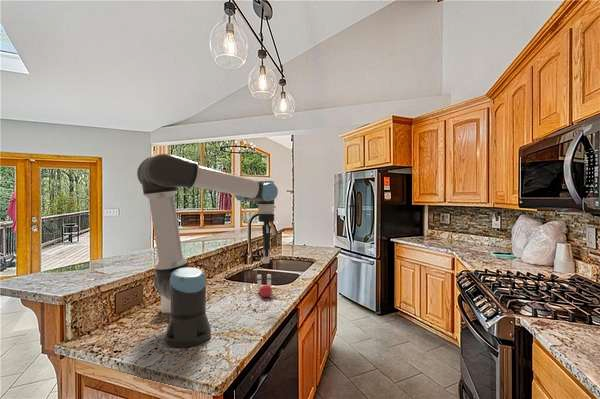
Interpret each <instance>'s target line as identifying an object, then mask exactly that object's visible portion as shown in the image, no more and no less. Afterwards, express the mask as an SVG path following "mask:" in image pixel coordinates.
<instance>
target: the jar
mask: <svg viewBox="0 0 600 399" xmlns="http://www.w3.org/2000/svg"><path fill="white" fill-rule="evenodd" d="M160 312H161V313H162V314H171V312H170V300H168V299H167V298H165V297H164V296H162V295H161V294H160Z"/></svg>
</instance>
